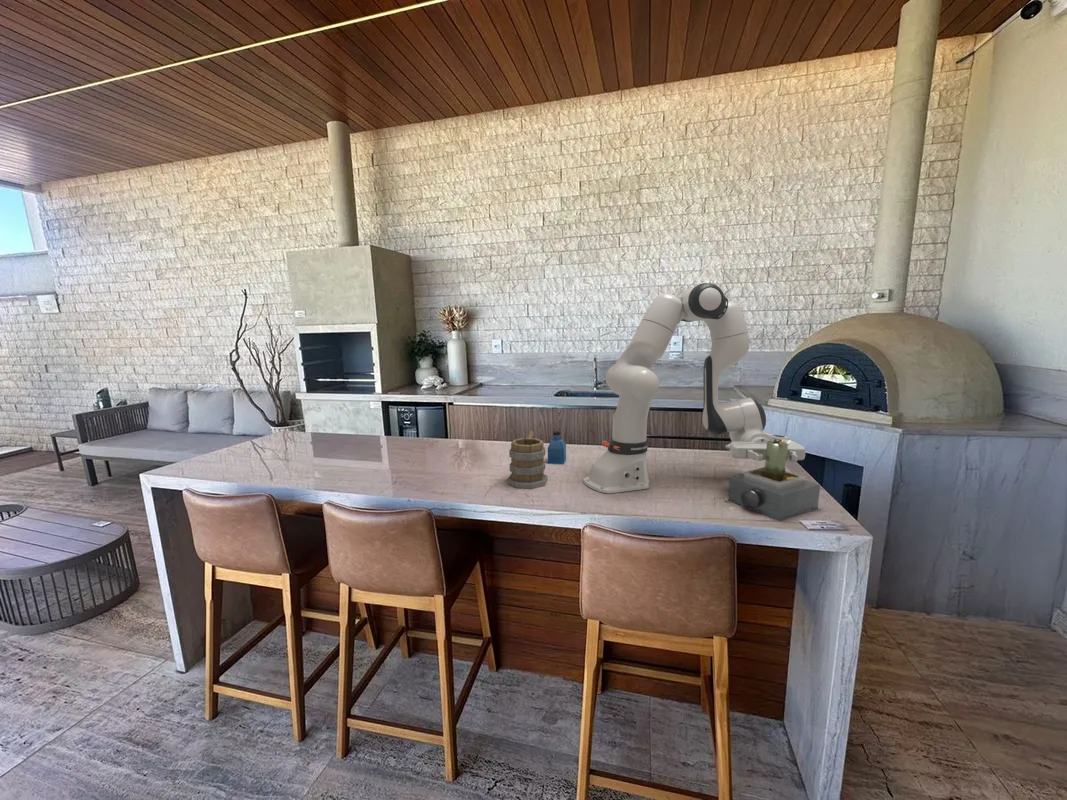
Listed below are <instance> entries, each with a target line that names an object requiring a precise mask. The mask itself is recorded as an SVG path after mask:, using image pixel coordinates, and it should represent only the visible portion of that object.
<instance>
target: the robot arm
mask: <svg viewBox="0 0 1067 800" xmlns="http://www.w3.org/2000/svg"><path fill="white" fill-rule="evenodd" d="M700 321H703V322H704V323H705V324H706V325H707V328H708V330H709V335H710V342H711V348H710V353H709V355H707V356H706V357H705V359H704V363H703V373H702V374H703V378H702V379H703V383H702V384H703V404H702V405H703V407H702V408H703V409H702V424H703V427H704V429H705V431H707V432H708V433H710V434H712V435H713V436H721V435H725V434H727V433H729V438H730V443H728V444H725V449H727V450H729V454H730V456H731V457H732V458H734V459H737V460H738V459H743V460H745V459H746V460H754V461H757V462H758V461H765V459H766V447H767V441H774V439H781V440H783V441H784V442H785V443H787V444H788V449H787V460H788V461H789V462H798V461H804V460H805V457H806V448H805V447H804V445H802V444H800V443H798V442H797V441H794V440H790V437H788V436H785V435H781V434H779V435H778V434H772V433H768V432H766V431H765V428H766V425H767V416H766V412H765V409H764V406H763V405H762V404H761V403H760V402H759V401H757V400H756V399H754V398H752V397H748V398H747V397H746V398H741V399H736V400H733V401H729V402H724V403H723V402H722V403H719V379H720V378H721V375H722V374H723V373H724V372H725V371H726V370H728V369H729V368H731V367H732V366H734V365H736V364H738V363H739V362H740V361H742V360H743V359H744V358H745V356H746V355H747V354H748V352H749V350H750V338H749V337H750V336H749V333H748V327H747V326H748V325H747V323H746V320H745V316H744V313H743V311H742V308H741V307H740V305H739V304H738V303H737V302H735V301H730V300H729V299H728V298H727V296H725V293H724V291H723V290H722V288H721V287H719V286H718V285H716V284H715V283H711V282H704V283H702V282H701V283H700V284H697V285H694V286H690V287H689V288H687V289H685V290H683V291H682V292H679V293H678V294H677V295H674V294H672V293H667V292H666V293H660V294H658V295H657V296H655V298H654V299H653V301H652V302H651V303H650V305H649V306H648V308H647V310H646V311H645V313H644V315H643V317H642V319H641V320H640V323H639V324H638V326H637V329H636V331H635V333H634V334H633V337H632V339H631V340H630V342H629V344H628V345H627V347H626V348H625V349H624V351H623V352H622V353H621V355H620V356H619V358H618V359H617V361H616V362H615V363H614V364H613V365H612V366H611V367H609V369H608V370H607V372H606V375H605V383H606V385H607V386H608V388H609V389H610V390H611V391H612V393H614V394H616V395H618V403H617V406H616V408H615V409H616V410H615V412H614V413H613V415H612V434H611V435H612V438H611V439H610V441H607V440H602V442H601V445H602V447H604V448H607V451H605V452H604V453H603V454H602V455H601V456H600V457H599V458H597V459H596V460H595V462H593V463H592V465H591V467H590V475H589V476H586V477H583V481H582V482H583V483H584V485H585V486H587V487H588V488H589V489H592V490H594V491H597V492H600V493H604V494H616V493H622V492H631V491H639V490H648V489H649V488H650V484H651V481H650V480H651V479H650V476H649V471H648V462H647V461H648V460H647V452H648V448H649V447H648V440H647V431H648V429H647V427H648V416H649V411H650V409H651V404H652V401H653V399H654V397H655V396H656V395H657V394H658V392H659V390H660V380H659V377H658V376H657V374H656V373H655V372H653V371H652V370H651V368H652V366H653V365H655V363H656V362H657V361H658V360H659V359H661V358H662V357H663V356H664V354H665V352H666V350H667V349H668V346H669V344H670V342H671V339H672V338H673V336H674V334H675V332H676V330H677V327H678V325H679V324H680V323H681V322H686V323H691V322H692V323H693V322H700ZM763 431H765V432H763ZM787 460H786V461H787Z"/></svg>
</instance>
